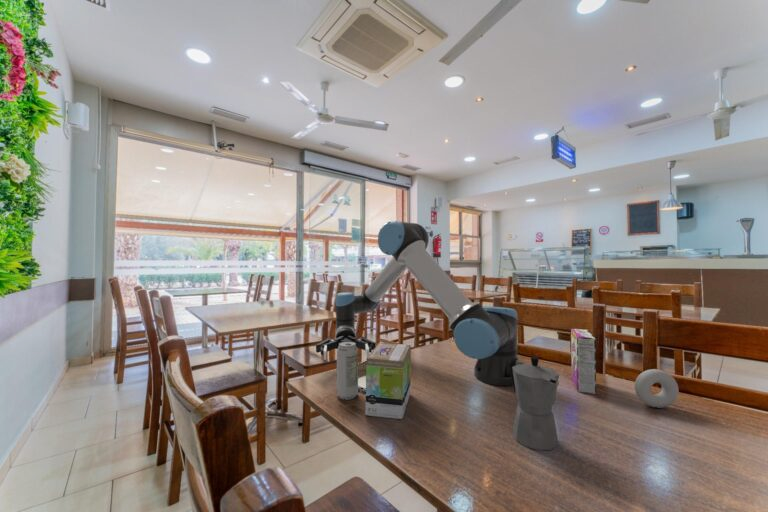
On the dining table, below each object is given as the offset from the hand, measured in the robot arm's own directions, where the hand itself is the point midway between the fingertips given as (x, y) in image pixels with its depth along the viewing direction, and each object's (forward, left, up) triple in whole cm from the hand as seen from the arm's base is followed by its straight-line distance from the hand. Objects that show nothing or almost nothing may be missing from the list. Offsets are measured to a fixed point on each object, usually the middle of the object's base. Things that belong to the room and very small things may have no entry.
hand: (346, 354), depth 102 cm
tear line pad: (-7, -3, -9) cm, 12 cm away
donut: (-77, -37, -9) cm, 86 cm away
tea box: (-20, +4, -9) cm, 22 cm away
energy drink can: (-7, +7, -9) cm, 13 cm away
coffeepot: (-54, -3, -9) cm, 55 cm away
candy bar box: (-60, -41, -9) cm, 73 cm away
